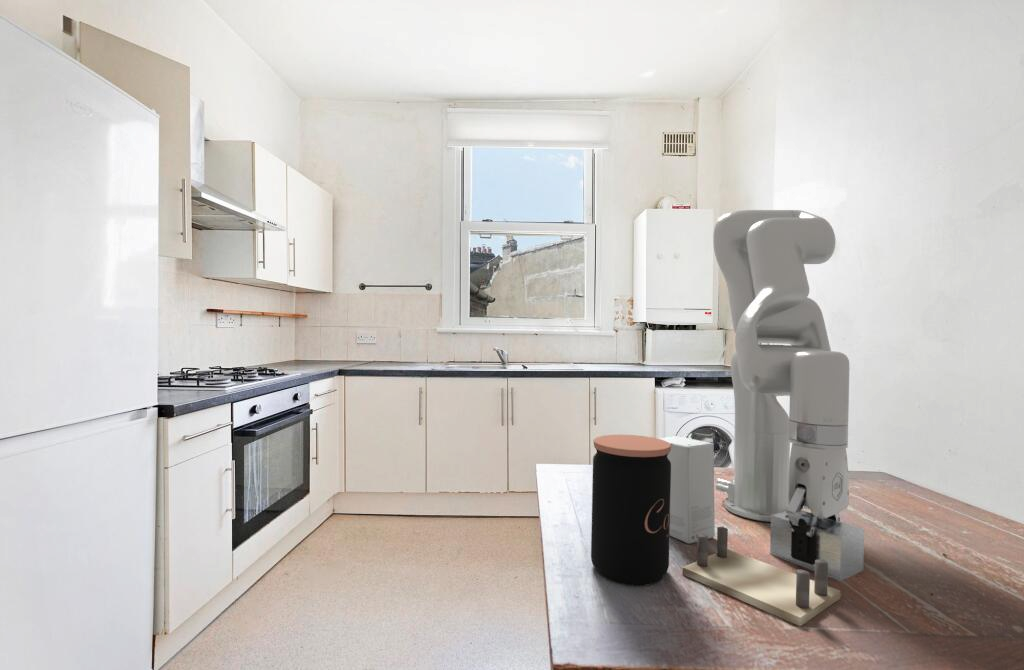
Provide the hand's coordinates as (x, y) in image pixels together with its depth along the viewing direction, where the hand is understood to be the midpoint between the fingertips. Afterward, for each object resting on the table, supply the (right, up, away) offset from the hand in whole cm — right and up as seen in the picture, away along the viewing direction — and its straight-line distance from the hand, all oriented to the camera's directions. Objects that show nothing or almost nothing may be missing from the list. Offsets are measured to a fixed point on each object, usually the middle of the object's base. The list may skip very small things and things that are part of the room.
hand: (815, 553), depth 77 cm
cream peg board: (-12, -1, -8) cm, 15 cm away
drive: (0, -1, 0) cm, 1 cm away
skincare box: (-16, -1, +10) cm, 19 cm away
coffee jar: (-28, -1, -4) cm, 29 cm away
